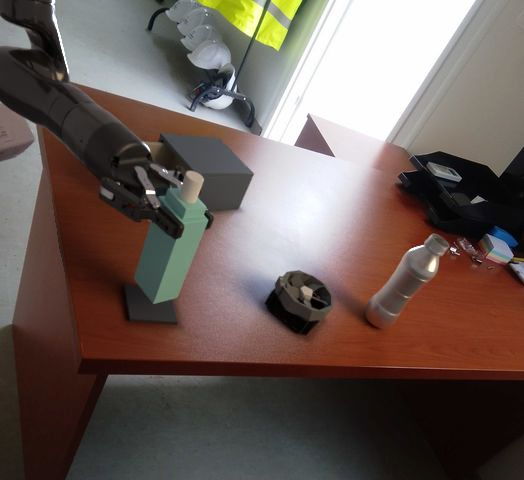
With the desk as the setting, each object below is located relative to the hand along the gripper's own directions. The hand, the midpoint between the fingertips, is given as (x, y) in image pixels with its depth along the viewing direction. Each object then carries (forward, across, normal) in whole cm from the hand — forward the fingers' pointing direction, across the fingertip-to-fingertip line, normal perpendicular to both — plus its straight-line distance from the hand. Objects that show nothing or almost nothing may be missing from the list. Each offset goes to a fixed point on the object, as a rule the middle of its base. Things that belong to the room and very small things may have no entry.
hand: (195, 228), depth 57 cm
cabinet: (-23, +31, +17) cm, 42 cm away
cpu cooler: (+11, +22, +16) cm, 30 cm away
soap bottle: (-3, 0, +13) cm, 13 cm away
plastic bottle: (+22, +38, +16) cm, 47 cm away
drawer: (-26, +19, +16) cm, 35 cm away
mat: (-2, 0, +16) cm, 16 cm away
